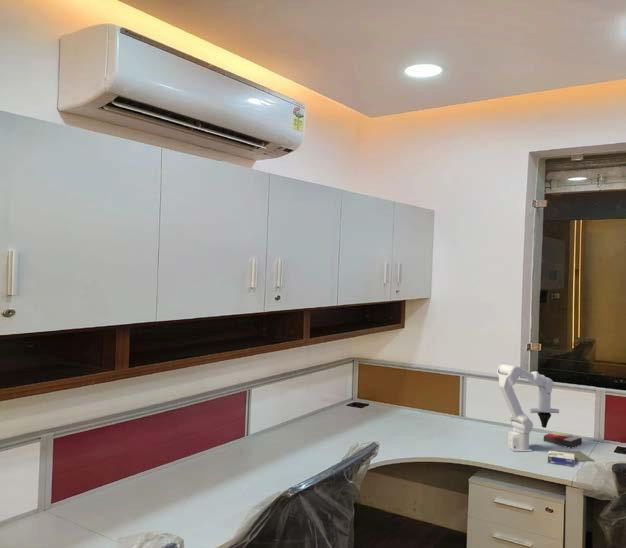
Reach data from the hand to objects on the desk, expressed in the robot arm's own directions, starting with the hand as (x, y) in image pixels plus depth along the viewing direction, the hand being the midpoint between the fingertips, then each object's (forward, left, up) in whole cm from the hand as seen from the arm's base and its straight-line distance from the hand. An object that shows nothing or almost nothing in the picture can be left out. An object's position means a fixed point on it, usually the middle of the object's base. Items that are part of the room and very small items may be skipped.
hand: (544, 427), depth 286 cm
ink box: (+1, -18, -8) cm, 20 cm away
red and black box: (+12, +5, -10) cm, 17 cm away
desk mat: (+8, -17, -9) cm, 21 cm away
